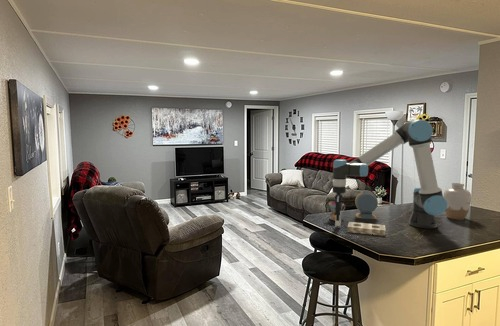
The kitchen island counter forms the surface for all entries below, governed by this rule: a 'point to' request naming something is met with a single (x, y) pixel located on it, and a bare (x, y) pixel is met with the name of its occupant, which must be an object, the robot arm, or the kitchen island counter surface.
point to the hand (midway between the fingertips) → (338, 224)
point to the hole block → (366, 228)
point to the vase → (457, 201)
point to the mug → (333, 206)
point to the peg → (340, 222)
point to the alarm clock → (366, 204)
